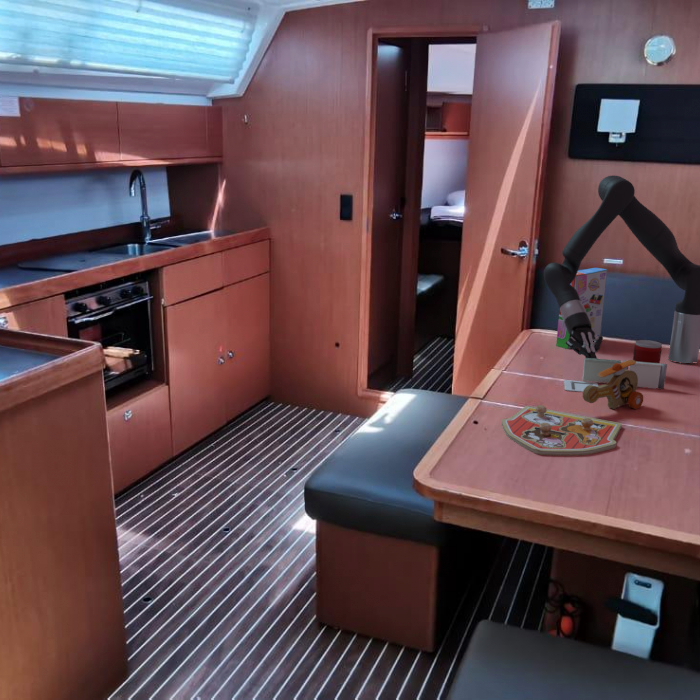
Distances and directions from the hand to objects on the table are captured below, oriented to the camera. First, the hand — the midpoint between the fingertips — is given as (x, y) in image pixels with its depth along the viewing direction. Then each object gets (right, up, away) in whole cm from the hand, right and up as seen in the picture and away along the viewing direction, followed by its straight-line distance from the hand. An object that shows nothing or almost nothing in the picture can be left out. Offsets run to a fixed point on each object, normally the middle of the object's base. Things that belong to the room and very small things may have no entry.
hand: (594, 364), depth 229 cm
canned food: (+19, -4, +7) cm, 20 cm away
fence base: (+14, -7, -3) cm, 15 cm away
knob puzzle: (-23, -18, -41) cm, 51 cm away
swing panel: (+2, -5, -1) cm, 5 cm away
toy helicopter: (-3, -12, -22) cm, 25 cm away
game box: (+9, +7, +45) cm, 47 cm away
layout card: (-5, -7, -4) cm, 10 cm away
